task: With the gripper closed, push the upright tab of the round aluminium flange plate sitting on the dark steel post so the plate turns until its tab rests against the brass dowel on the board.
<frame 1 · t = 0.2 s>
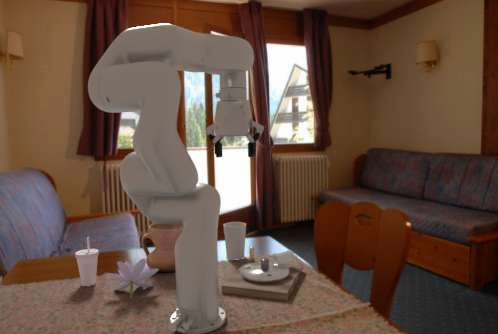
hand: (234, 157, 104), 36 cm above the table, tool pointing down, fingers open, 9 cm apart
smoothie: (88, 284, 107), on the table
ceramic jug: (168, 268, 121), on the table
cup: (235, 258, 129), on the table
flange plate: (269, 265, 108), point 4 cm above the table, hinge at 0.0°
base board: (265, 281, 107), on the table
water lily: (135, 293, 101), on the table
post and dowel: (258, 260, 111), on the base board, point 5 cm above the table
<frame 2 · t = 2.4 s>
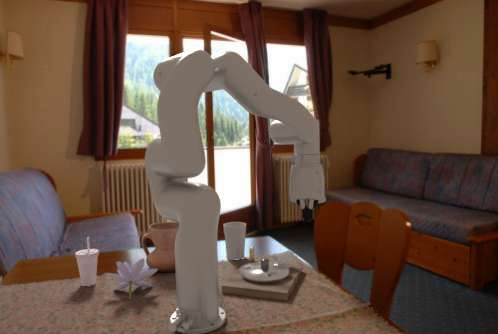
hand: (307, 221, 110), 16 cm above the table, tool pointing down, fingers closed
nothing on the table moved.
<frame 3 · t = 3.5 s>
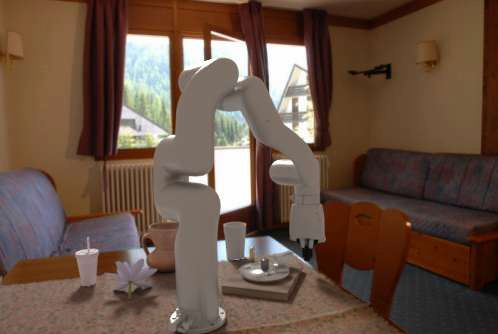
hand: (307, 259, 111), 5 cm above the table, tool pointing down, fingers closed
nothing on the table moved.
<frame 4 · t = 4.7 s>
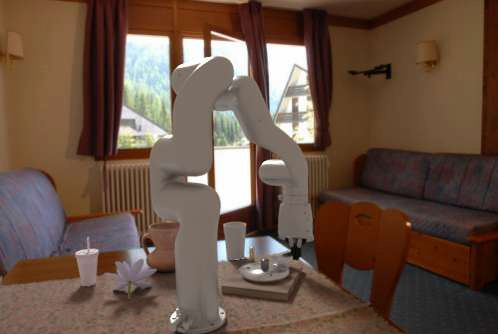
hand: (296, 258, 112), 5 cm above the table, tool pointing down, fingers closed
flange plate: (269, 265, 108), point 4 cm above the table, hinge at 2.6°, touching gripper
everything else where it was.
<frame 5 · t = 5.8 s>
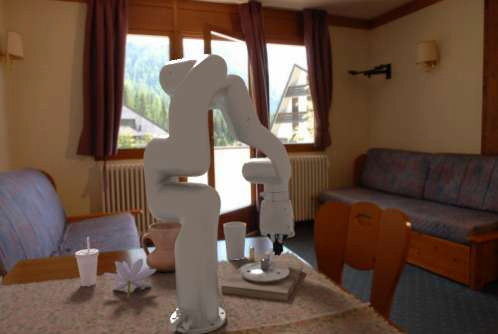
hand: (278, 254, 115), 5 cm above the table, tool pointing down, fingers closed
flange plate: (266, 264, 109), point 4 cm above the table, hinge at 35.3°, touching gripper
everything else where it was.
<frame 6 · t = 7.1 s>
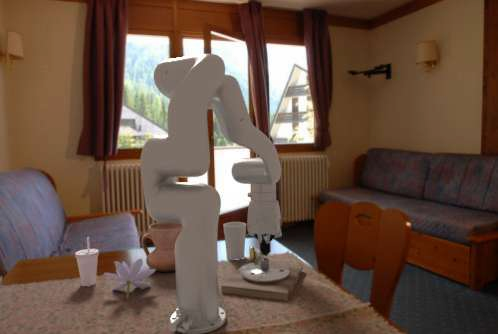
hand: (265, 254, 116), 5 cm above the table, tool pointing down, fingers closed
flange plate: (263, 264, 109), point 4 cm above the table, hinge at 61.3°, touching gripper
everything else where it was.
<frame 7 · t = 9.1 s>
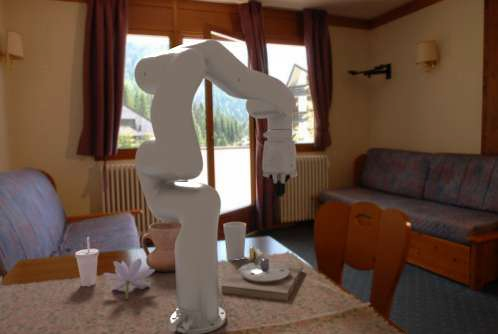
hand: (280, 195, 113), 24 cm above the table, tool pointing down, fingers closed
flange plate: (263, 264, 109), point 4 cm above the table, hinge at 61.3°
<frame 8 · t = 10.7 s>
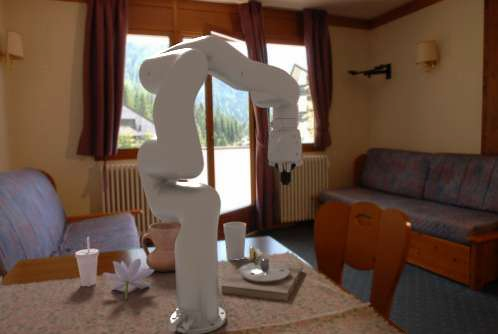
hand: (285, 184, 114), 27 cm above the table, tool pointing down, fingers closed
at the end: flange plate at +61° (first picture: +0°) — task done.
